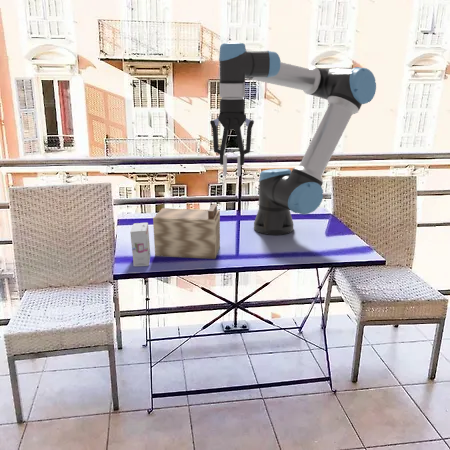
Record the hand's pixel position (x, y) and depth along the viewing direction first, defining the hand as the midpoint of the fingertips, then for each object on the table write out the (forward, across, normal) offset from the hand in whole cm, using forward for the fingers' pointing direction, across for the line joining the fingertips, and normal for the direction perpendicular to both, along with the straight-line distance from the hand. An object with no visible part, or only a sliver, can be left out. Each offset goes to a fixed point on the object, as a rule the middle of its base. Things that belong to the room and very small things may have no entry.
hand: (232, 175), depth 145 cm
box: (+27, +15, 0) cm, 30 cm away
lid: (+14, +15, 0) cm, 21 cm away
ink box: (+27, +28, +10) cm, 40 cm away
